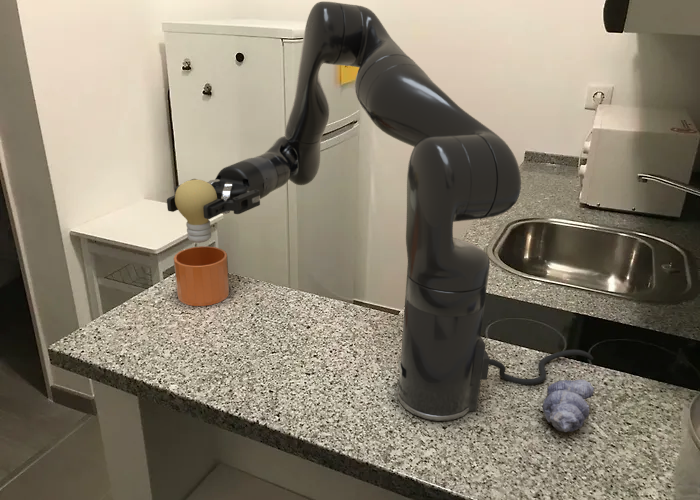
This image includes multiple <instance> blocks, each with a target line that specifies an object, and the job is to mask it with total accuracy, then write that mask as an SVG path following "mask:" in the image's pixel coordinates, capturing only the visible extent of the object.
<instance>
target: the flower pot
mask: <svg viewBox="0 0 700 500" xmlns="http://www.w3.org/2000/svg"><path fill="white" fill-rule="evenodd" d="M228 261H229V260H228V253H227V252H226V251H225V250H224V249H222V248H220V247H216V246H210V245H209V246H207V245H202V246H199V245H198V246H192V247H189V248H185V249H182V250H180V251H177V253H176V254H174V257H173V265H174V267H173V268H174V275H175V285H176V295H177V299H178V301H179V302H180V303H182V304H184V305H187V306H192V307H205V306H211V305H215V304H219V303H221V302H223V301H225V300H226V299H227V298H228V297H229V295H230V278H229V277H230V276H229V264H228Z"/></svg>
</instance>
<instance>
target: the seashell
mask: <svg viewBox="0 0 700 500" xmlns="http://www.w3.org/2000/svg"><path fill="white" fill-rule="evenodd" d="M594 392H595V387H594V386H593V385H592V382H590V381H587V380H586V379H575V380H574V379H573V380H571V379H568V380H567V379H564V380H563V379H561V380H558V381H555V382H553V383H551V384H549V386H548V387H547V391H546V393H547V394H546V395H547V396H546V397H545V398H544V400H543V402H542V412H543V414H544V416H545V419H546V421H547V422H548V423H551V425H552V426H553V428H554V429H555V430H556V431H558V432H564V433H567V432H571V433H572V432H575V431H577V430H581V428H582V427H583V426H584V423H585V421H586V420H587V418H588V417H589V415H590V405H589V404H588V402H587V401H586V400H587V399H591V398H592V397H593V395H594Z"/></svg>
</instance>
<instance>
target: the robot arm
mask: <svg viewBox="0 0 700 500" xmlns="http://www.w3.org/2000/svg"><path fill="white" fill-rule="evenodd" d="M324 64H326V65H335V66H343V67H344V66H346V67H355V68H358V70H357V73H356V76H355V83H354V88H355V95H356V98H357V101H358V103H359V104H360V107H362V109H363V111H364V112H365V113H366V115H367V116H368V117H369V119H370V120H371V121H372V123H373V124H374V125H375V126H376V127H377V128H378V129H379V130H380V131H381V132H383V133H385V134H386V135H388V136H390V137H391V138H393V139H395V140H398V141H399V142H402V143H404V144H406V145H409V146H411V147H413V148H412V150H411V153H410V156H409V160H408V166H407V173H406V225H405V248H406V256H407V265H406V267H407V268H406V280H405V282H406V283H405V295H404V296H405V297H404V310H403V322H402V336H401V337H402V338H401V350H400V358H398V359H397V362H398V363H397V367H398V372H399V374H398V375H399V376H398V385H397V392H396V393H397V395H396V396H397V399H398V401H399V403H400V405H401V406H402V407H403V408H404V409H405V410H406V411H407V412H408V413H410V414H412V415H414V416H416V417H419V418H421V419H425V420H429V421H435V422H436V421H437V422H445V421H453V420H456V419H460V418H462V417H464V416H465V415H466V414H468V413H469V412H476V411H477V409H478V405H479V395H480V388H481V381H487V379H488V376H489V367H490V366H493V367H495V368H498V369H499V370H498V375H499V377H501V379H502V380H505V381H507V382H510V383H515V384H519V385H525V386H531V385H538V384H541V383H543V382H544V381H545V380H546V379H547V370H546V367H545V365H546V364H548V363H549V362H551V361H554V360H556V359H558V358H562V357H567V356H581V357H584V358H586V359H587V360H590V361H592V360H594V356H592V354H590V352H587V351H585V350H581V349H565V350H561V351H557V352H554V353H551V354H549V355H547V356H545V357H543V358H541V360H539V363H538V369H539V373H540V375H539V376H538V377H535V378H519V377H516V376H512V375H510V374H508V373H506V366H505V365H504V364H503V363H502V362H501V361H498V360H496V359H492V358H491V357H490V356H489V355H488V353H487V351H486V343H485V341H484V339H483V338H482V336H481V335H482V334H481V333H482V327H483V319H484V312H485V304H486V297H487V289H488V280H489V275H490V266H491V264H490V263H491V262H490V257H489V256H488V253H486V251H485V250H484V249H482V248H481V247H479V246H478V245H476V244H474V243H472V242H469V241H466V240H464V239H460V238H457V237H454V233H453V232H454V231H453V229H454V223H456V222H457V223H458V222H466V221H475V220H483V219H490V218H494V217H497V216H500V215H503V214H505V213H506V212H508V211H510V210H511V209H512V208H513V207H514V205H515V204H516V203H517V201H518V199H519V197H520V194H521V189H522V175H521V169H520V166H519V163H518V160H517V158H516V156H515V154H514V152H513V151H512V149H511V148H510V146H509V145H508V144H507V142H506V141H505V140H504V139H503V138H502V137H501V136H500V135H499V134H497V133H496V132H495V131H493V130H492V129H490V128H489V127H488V126H486V125H485V124H483V122H481V121H480V120H478V119H476V118H475V117H474V116H472V115H471V114H469V113H468V112H467V111H466V110H464V109H463V108H462V107H461V106H460V105H458V103H456V102H455V101H454V100H453V99H452V98H451V97H450V96H449V95H448V93H446V92H444V90H443V89H442V88H440V87H439V86H438V85H437V84H436V83H435V82H434V81H433V80H432V79H431V77H429V75H428V74H427V73H426V72H425V70H423V68H422V67H421V66H420V65H419V64H417V63H416V61H415V60H414V59H412V58H411V57H410V56H409V55H408V54H407V53H406V52H405V51H404V50H403V49H402V48H401V47H400V45H398V44H397V42H396V41H395V40H394V39H393V38H392V37H391V35H390V34H389V32H388V31H387V29H386V28H385V26H384V25H383V23H382V22H381V20H380V19H379V18H378V16H377V15H376V13H375V12H374V11H373V10H371V9H370V8H368V7H366V6H363V5H357V4H351V3H341V2H336V1H318V2H316V3H315V4H314V5H313V6H312V8H311V9H310V10H309V14H308V16H307V19H306V23H305V27H304V32H303V37H302V46H301V52H300V58H299V65H298V72H297V79H296V87H295V94H294V99H293V104H292V107H291V110H290V113H289V116H288V119H287V123H286V124H285V125H286V126H285V129H284V136H279V138H277V139H276V140H275V141H274V142H273V143H272V144H271V146H270V147H269V148H268V149H267V150H266V151H264V152H263V153H262V154H259V155H256V156H254V157H249V158H246V159H243V160H241V161H238V162H236V163H233V164H230V165H228V166H225V167H223V168H222V169H221V170H219V172H218V174H217V175H216V177H215V179H210V180H209V181H206V182H207V183H209V184H211V185H212V186H213V187H214V189H215V191H216V194H217V200H214V201H212V202H210V203H208V204H206V205H204V207H203V211H204V218H205V219H209V220H211V219H213V218H215V217H218V216H219V215H221V214H224V215H225V214H230V213H231V212H233V214H234V215H241V214H243V213H246V212H247V211H250V210H253V209H254V208H256V207H259V206H260V205H261V200H262V199H264V198H265V197H266V196H268V195H269V194H270V193H272V192H274V191H276V190H278V189H280V188H282V187H283V186H284V185H287V183H288V182H289V181H290V182H291V183H293V184H294V185H296V186H305V185H308V184H310V183H311V182H312V181H313V180H315V178H316V176H317V175H318V172H319V169H320V167H321V166H320V165H321V145H322V143H321V141H322V138H323V135H324V132H325V130H326V128H327V125H328V124H329V123H328V122H329V120H330V103H329V100H328V97H327V94H326V92H325V90H324V87H323V85H322V82H321V78H320V70H321V67H322V65H324ZM191 180H199V179H197V178H192V179H191ZM180 185H181V184H179V185H177V186H175V187H174V188H173V189H174V195H172V196H170V197H168V198H167V199H166V205H167V211H168V212H171V213H174V212H176V211H179V210H178V209H177V207H176V204H175V194H176V191H177V189H178V187H179V186H180Z"/></svg>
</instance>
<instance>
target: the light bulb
mask: <svg viewBox="0 0 700 500" xmlns="http://www.w3.org/2000/svg"><path fill="white" fill-rule="evenodd" d="M207 182H208V181H205V180H202V179H198V180H192V179H190V180H187V181H184V182H183V183H181V184H179V185H180V186H179V185H178V186H179V187H178V189H177V191H176V194H175V193H174V195H175V204H176V207H177V209H178V210H177V211H178V212H179V214H180V215H182V217H184V218H185V220H186V223H185V225H186V232H187V239H188V241H190V242H192V243H195V244H200V243H205V242H208V241H209V240H210V239H211V237H212V227H211V221H210V219H205V218H204V211H203V207H204V205H206V204H208V203H210V202H212V201H214V200H217V194H216V191H215V189H214V187H213V186H212V185H211V184H209V183H207Z"/></svg>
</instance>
